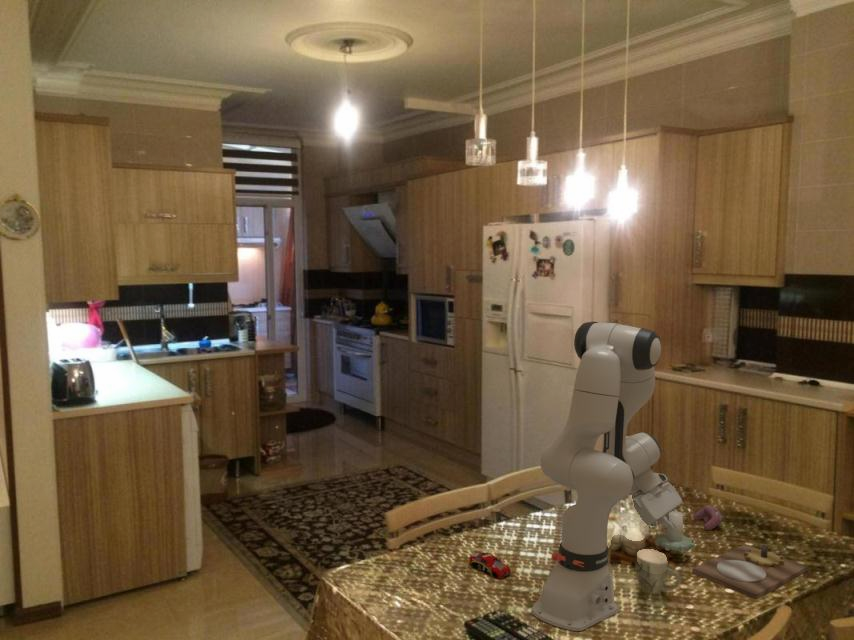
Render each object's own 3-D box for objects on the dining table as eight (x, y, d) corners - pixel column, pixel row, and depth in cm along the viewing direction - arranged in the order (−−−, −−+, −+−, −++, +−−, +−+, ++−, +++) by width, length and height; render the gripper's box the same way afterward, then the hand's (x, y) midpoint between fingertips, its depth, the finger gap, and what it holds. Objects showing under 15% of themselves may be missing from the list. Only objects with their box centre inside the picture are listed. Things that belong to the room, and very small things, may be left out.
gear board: (756, 599, 175) (757, 578, 175) (692, 572, 190) (692, 553, 189) (807, 570, 190) (808, 551, 190) (744, 548, 205) (745, 530, 204)
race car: (514, 576, 189) (514, 562, 189) (500, 582, 186) (500, 568, 186) (480, 559, 200) (480, 546, 199) (466, 565, 196) (466, 551, 196)
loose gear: (686, 555, 191) (687, 523, 190) (647, 544, 198) (648, 514, 197) (700, 543, 199) (702, 512, 199) (663, 533, 207) (664, 503, 206)
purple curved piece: (716, 535, 218) (727, 516, 217) (703, 529, 218) (714, 510, 217) (704, 523, 228) (714, 504, 227) (691, 517, 227) (701, 498, 227)
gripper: (637, 489, 194) (671, 533, 189) (666, 473, 209) (698, 512, 204) (622, 501, 197) (654, 544, 192) (652, 484, 213) (682, 523, 207)
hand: (677, 528), depth 198 cm, fingers closed on loose gear, 4 cm apart
